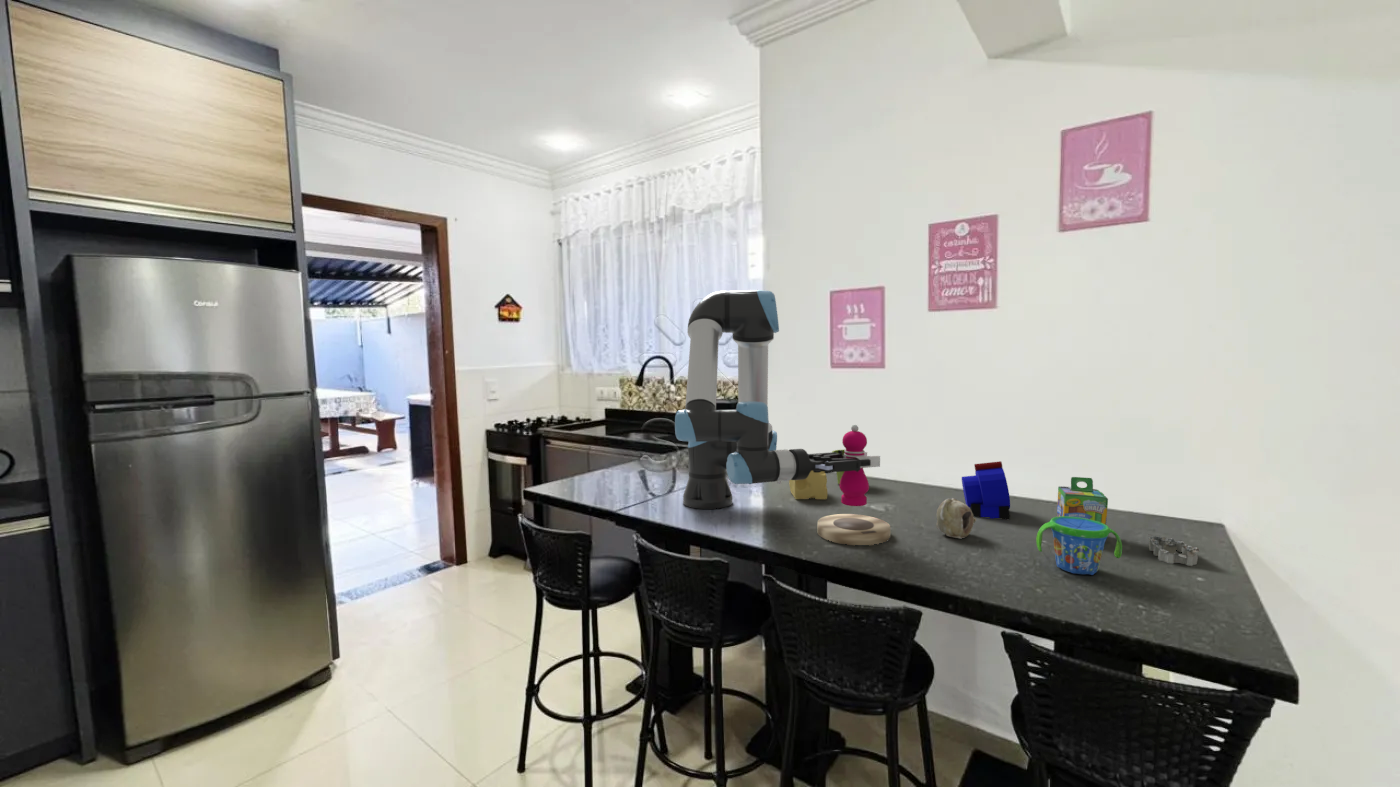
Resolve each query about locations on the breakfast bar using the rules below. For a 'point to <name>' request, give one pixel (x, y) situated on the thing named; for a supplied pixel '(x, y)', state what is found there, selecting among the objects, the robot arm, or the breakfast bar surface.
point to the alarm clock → (987, 491)
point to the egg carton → (1172, 550)
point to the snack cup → (1078, 543)
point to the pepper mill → (853, 481)
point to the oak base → (853, 529)
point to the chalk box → (1082, 501)
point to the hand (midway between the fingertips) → (872, 459)
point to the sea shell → (954, 518)
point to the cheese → (810, 486)
